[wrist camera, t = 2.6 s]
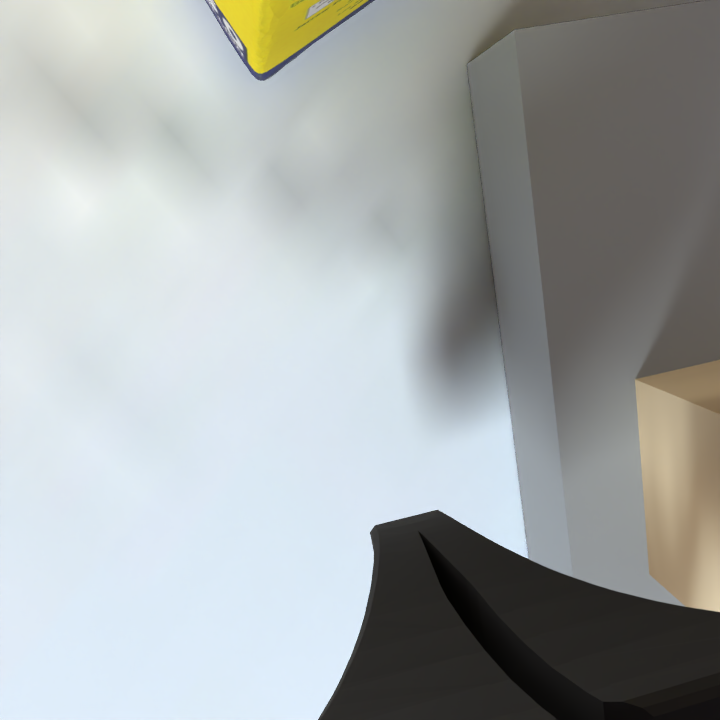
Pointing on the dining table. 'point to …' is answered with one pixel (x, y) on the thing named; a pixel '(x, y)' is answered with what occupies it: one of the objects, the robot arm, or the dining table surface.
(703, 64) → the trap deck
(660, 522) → the maple block
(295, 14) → the supplement box
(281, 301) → the dining table surface
